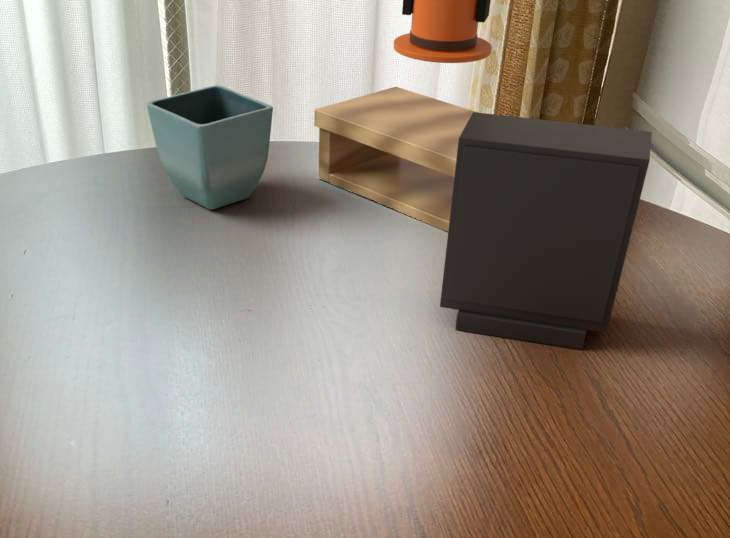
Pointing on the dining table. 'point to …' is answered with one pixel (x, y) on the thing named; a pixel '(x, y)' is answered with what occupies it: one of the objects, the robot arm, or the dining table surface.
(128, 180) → the dining table surface
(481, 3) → the robot arm
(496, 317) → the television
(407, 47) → the hat
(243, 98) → the flower pot
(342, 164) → the stand
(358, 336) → the dining table surface
